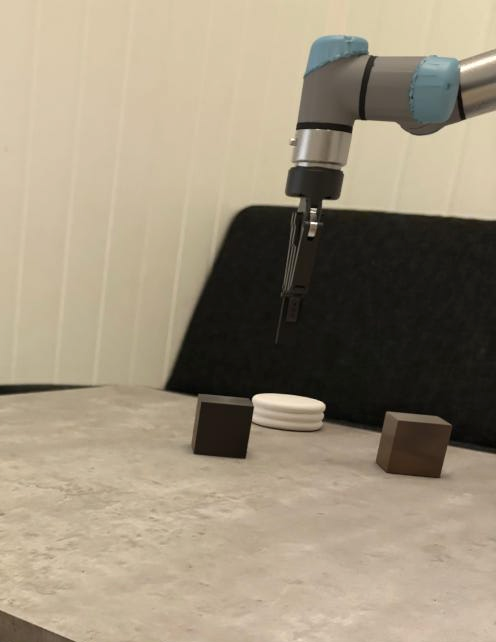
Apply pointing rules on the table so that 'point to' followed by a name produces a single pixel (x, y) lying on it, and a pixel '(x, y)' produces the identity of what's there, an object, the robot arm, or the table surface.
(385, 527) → the table surface
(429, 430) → the dark brown wooden cube
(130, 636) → the table surface
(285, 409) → the white stacked disc
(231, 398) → the dark brown cube
